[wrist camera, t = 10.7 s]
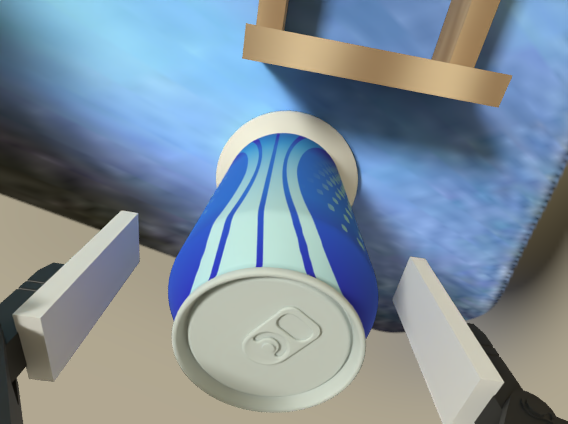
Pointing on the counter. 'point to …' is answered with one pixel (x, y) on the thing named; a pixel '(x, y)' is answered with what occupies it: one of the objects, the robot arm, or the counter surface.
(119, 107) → the counter surface
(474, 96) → the oak holder
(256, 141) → the beer can
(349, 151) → the trivet
